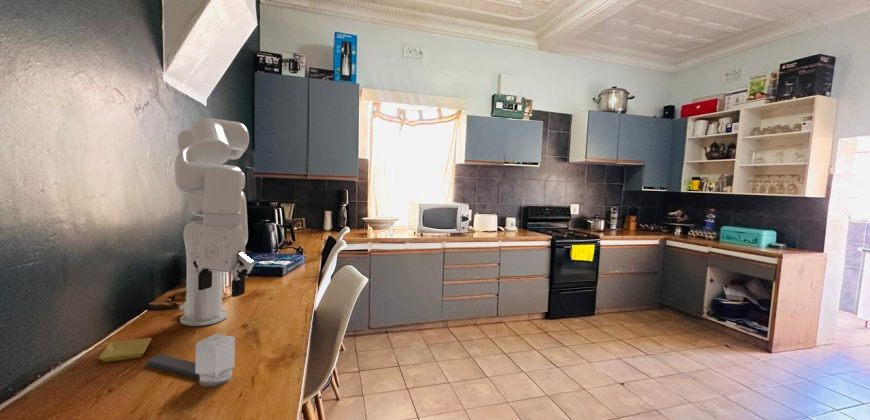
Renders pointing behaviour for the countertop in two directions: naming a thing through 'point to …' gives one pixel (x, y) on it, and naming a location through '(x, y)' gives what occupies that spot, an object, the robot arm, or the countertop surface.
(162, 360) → the ratchet
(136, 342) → the flat yellow-green tile
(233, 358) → the white block
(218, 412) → the countertop surface
